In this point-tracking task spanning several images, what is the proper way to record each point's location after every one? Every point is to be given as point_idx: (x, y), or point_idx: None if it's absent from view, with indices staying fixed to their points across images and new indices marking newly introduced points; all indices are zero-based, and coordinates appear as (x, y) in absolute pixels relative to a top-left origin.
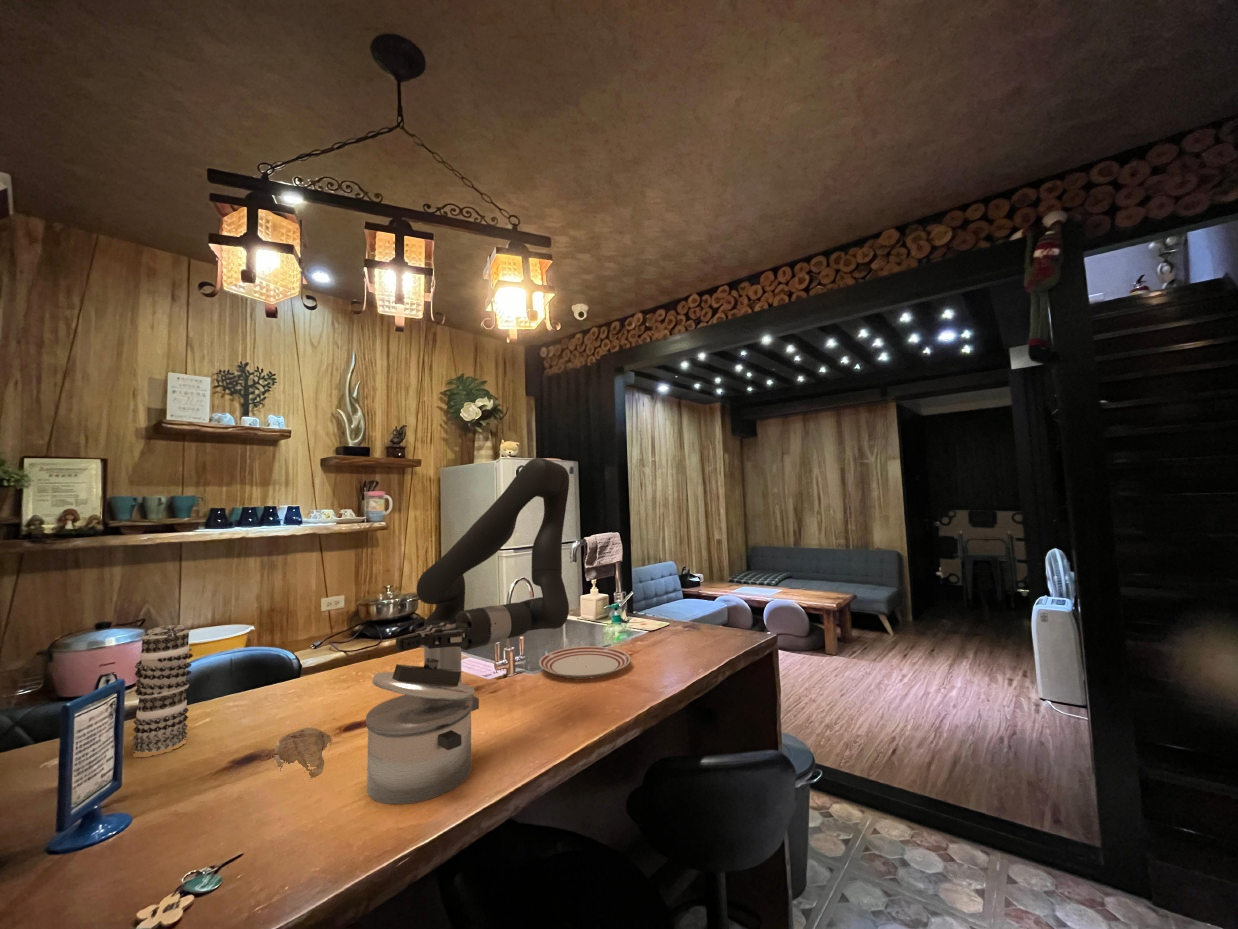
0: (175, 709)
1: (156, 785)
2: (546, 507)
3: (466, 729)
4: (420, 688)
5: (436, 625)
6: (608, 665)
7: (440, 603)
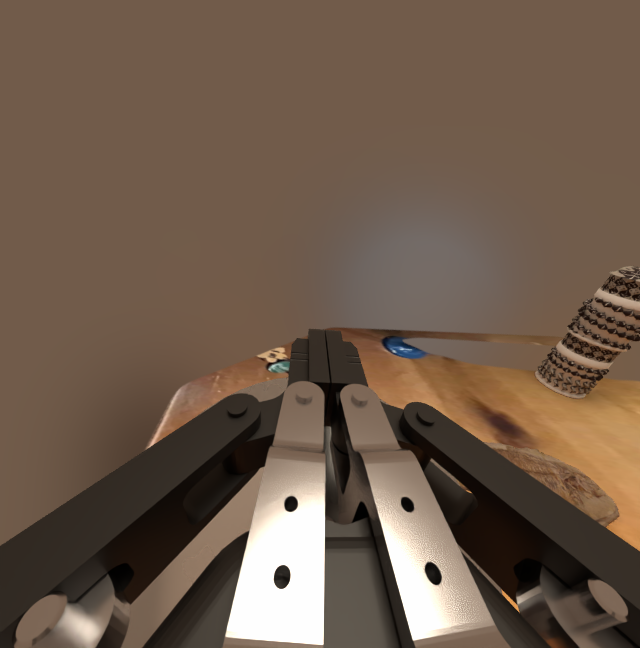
0: (576, 357)
1: (465, 372)
2: None
3: None
4: None
5: (433, 546)
6: None
7: None
